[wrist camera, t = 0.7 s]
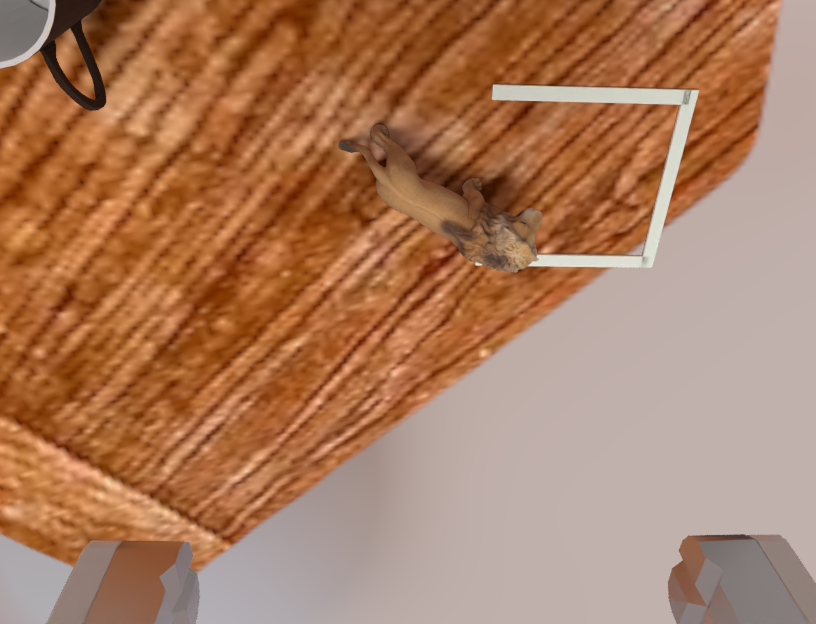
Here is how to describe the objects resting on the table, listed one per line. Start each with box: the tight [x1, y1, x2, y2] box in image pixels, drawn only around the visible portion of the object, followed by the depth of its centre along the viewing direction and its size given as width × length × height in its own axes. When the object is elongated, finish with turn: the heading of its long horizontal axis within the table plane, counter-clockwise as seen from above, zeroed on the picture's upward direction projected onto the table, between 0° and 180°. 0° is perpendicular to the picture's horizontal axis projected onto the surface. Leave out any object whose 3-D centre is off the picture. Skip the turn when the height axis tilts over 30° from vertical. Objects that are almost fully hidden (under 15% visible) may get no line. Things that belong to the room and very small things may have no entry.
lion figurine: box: [338, 124, 543, 272], centre depth 44 cm, size 15×5×9 cm, turn 68°
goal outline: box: [475, 84, 699, 268], centre depth 48 cm, size 14×14×1 cm
